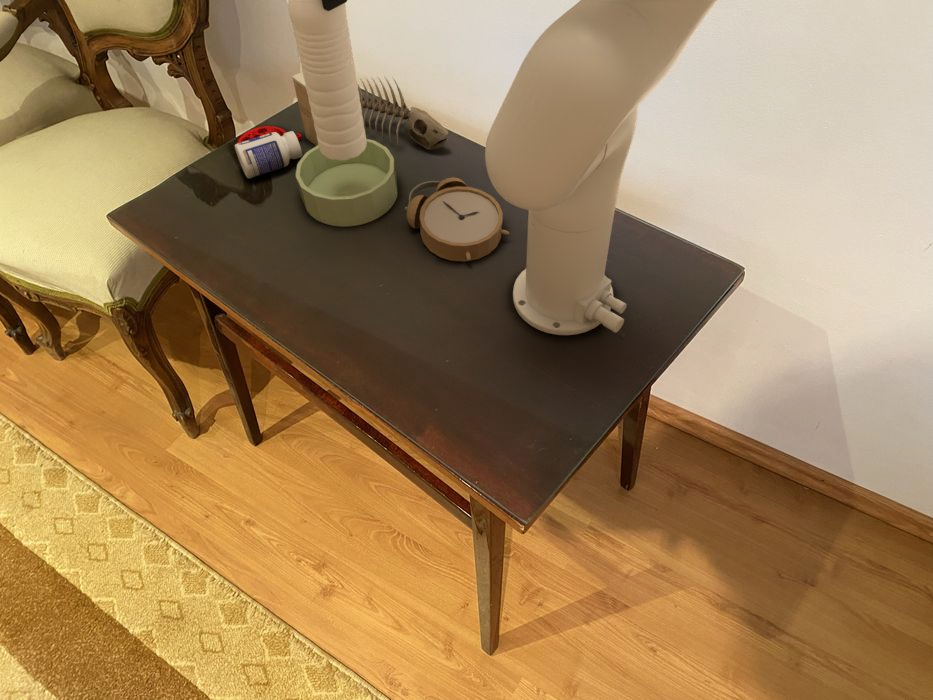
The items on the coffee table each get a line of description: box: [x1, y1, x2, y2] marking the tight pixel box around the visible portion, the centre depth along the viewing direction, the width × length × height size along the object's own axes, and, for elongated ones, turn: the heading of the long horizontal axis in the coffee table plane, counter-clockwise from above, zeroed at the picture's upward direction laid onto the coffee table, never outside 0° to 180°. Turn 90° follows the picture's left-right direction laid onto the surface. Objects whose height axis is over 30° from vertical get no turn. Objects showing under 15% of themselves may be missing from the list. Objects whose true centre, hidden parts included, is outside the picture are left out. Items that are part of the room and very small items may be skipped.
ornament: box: [237, 125, 303, 143], centre depth 116 cm, size 8×1×10 cm
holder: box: [295, 138, 399, 228], centre depth 106 cm, size 14×14×5 cm
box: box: [291, 71, 318, 147], centre depth 112 cm, size 5×4×11 cm
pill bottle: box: [234, 130, 303, 179], centre depth 110 cm, size 5×5×9 cm
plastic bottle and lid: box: [287, 0, 367, 161], centre depth 91 cm, size 9×6×25 cm
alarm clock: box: [404, 177, 510, 263], centre depth 101 cm, size 11×5×15 cm
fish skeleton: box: [358, 76, 449, 150], centre depth 114 cm, size 6×28×10 cm, turn 59°
